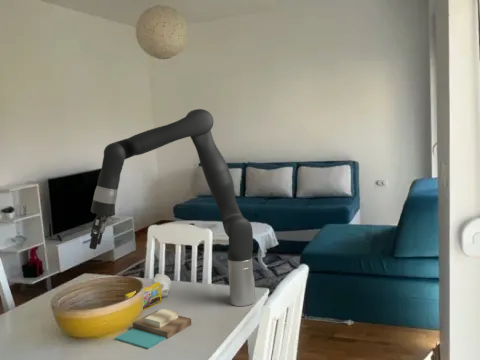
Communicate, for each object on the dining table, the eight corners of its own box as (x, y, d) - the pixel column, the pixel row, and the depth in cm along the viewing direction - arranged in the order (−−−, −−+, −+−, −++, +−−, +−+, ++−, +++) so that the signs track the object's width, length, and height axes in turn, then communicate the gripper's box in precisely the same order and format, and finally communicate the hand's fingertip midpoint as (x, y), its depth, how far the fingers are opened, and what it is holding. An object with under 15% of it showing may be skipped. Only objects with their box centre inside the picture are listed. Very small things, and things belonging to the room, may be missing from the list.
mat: (133, 329, 164) (133, 328, 164) (165, 338, 156) (165, 337, 156) (115, 339, 158) (115, 337, 158) (148, 349, 149) (148, 347, 149)
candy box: (129, 317, 175) (127, 295, 174) (126, 316, 177) (124, 294, 176) (162, 302, 188) (160, 282, 187) (158, 301, 189) (156, 281, 188)
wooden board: (157, 316, 175) (157, 310, 174) (191, 324, 166) (190, 318, 165) (133, 329, 165) (132, 322, 165) (167, 338, 156) (167, 332, 156)
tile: (163, 314, 171) (162, 308, 170) (178, 317, 167) (177, 312, 166) (145, 323, 163) (144, 318, 163) (160, 327, 159) (159, 321, 159)
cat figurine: (161, 277, 190) (163, 267, 201) (139, 293, 189) (142, 282, 201) (175, 293, 191) (175, 282, 203) (153, 309, 191) (155, 297, 203)
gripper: (112, 204, 158) (102, 252, 159) (118, 200, 172) (108, 244, 173) (89, 200, 157) (79, 248, 158) (97, 196, 171) (87, 240, 172)
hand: (94, 246), depth 165 cm, fingers open, 8 cm apart
